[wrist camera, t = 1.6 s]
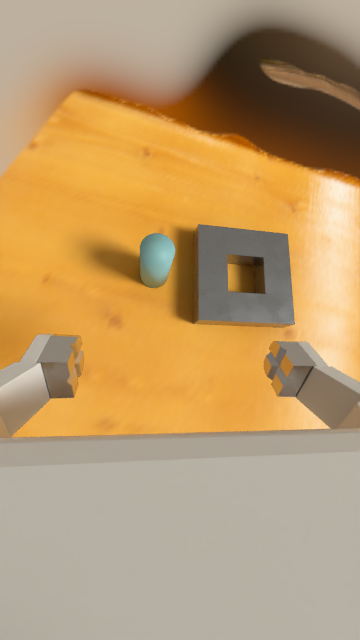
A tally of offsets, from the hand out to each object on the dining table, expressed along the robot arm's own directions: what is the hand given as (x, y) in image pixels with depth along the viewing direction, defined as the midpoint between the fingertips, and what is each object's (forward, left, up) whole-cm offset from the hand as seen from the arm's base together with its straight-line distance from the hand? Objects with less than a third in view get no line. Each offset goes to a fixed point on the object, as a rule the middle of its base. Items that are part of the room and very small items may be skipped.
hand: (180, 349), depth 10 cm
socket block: (+13, +12, -23) cm, 29 cm away
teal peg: (0, +12, -23) cm, 27 cm away
